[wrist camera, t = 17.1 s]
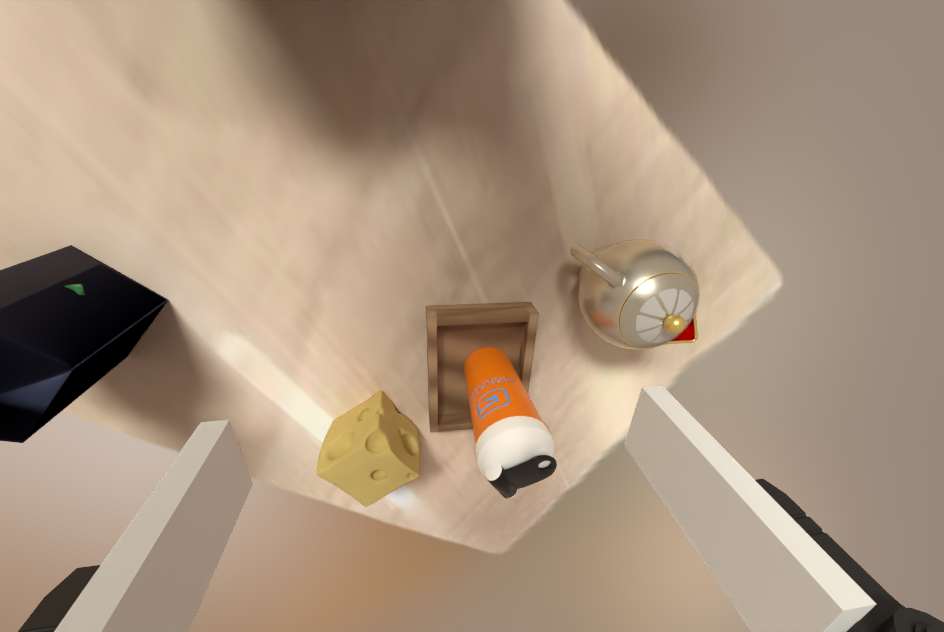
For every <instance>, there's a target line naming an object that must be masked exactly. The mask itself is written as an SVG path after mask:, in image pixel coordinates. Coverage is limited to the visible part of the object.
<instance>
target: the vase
mask: <svg viewBox="0 0 944 632" xmlns="http://www.w3.org/2000/svg"><path fill="white" fill-rule="evenodd" d="M167 301H168V299H166V298H164V297H163V296H161V295H159V294H157V293H155V292H154V291H152V290H150V289H148V288H147V287H145V286H143V285H141V284H139V283H138V282H136V281H134V280H132V279H130V278H129V277H127V276H125V275H123V274H122V273H120V272H118V271H116V270H114V269H113V268H111V267H109V266H107V265H105V264H104V263H102V262H100V261H98V260H96V259H95V258H93V257H91V256H89V255H88V254H86V253H84V252H82V251H80V250H79V249H77V248H75V247H73V246H68V247H65V248H62V249H60V250H57V251H54V252H51V253H48V254H45V255H43V256H40V257H37V258H34V259H31V260H28V261H26V262H23V263H20V264H17V265H14V266H11V267H9V268H6V269H3V270H0V441H10V442H19V443H23V442H24V441H26V440H27V439H28V438H29V437H31V436H32V434H34V433H35V432H37V431H38V430H39V429H40V428H41V427H43V426H44V425H45V424H46V423H48V422H49V421H50V420H51V419H52V418H53V417H55V416H56V415H57V414H58V413H60V412H61V411H62V410H63V409H65V408H66V407H67V406H68V405H69V404H71V403H72V402H73V401H74V400H75V399H77V398H78V397H79V396H80V395H82V394H83V393H84V392H85V391H86V390H88V389H89V388H90V387H91V386H92V385H94V384H95V383H96V382H97V381H99V380H100V379H101V378H102V377H103V376H105V375H106V374H107V373H108V372H109V371H111V370H112V369H113V368H114V367H116V366H117V365H118V364H119V363H120V362H122V361H123V360H124V359H125V358H126V357H127V356H128V355H129V354H130V352H131V351H132V349H133V348H134V347H135V345H136V344H137V343H138V341H139V340H140V338H141V337H142V336H143V334H144V333H145V332H146V330H147V329H148V327H149V326H150V325H151V323H152V322H153V321H154V319H155V318H156V316H157V315H158V314H159V312H160V311H161V310H162V308H163V307H164V305H165V304H166V303H167Z"/></svg>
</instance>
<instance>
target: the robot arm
mask: <svg viewBox="0 0 944 632" xmlns="http://www.w3.org/2000/svg"><path fill="white" fill-rule="evenodd" d="M624 446H625V447H626V449H627V450H628V452H629V453H630V454H631V456H632V457H633V459H634V460H635V462H636V463H637V465H638V466H639V468H640V469H641V471H642V472H643V473H644V475H645V476H646V478H647V479H648V481H649V482H650V484H651V485H652V487H653V488H654V490H655V491H656V493H657V494H658V495H659V497H660V499H661V500H662V501H663V503H664V504H665V506H666V507H667V509H668V510H669V512H670V513H671V515H672V516H673V518H674V519H675V520H676V522H677V523H678V525H679V526H680V528H681V529H682V531H683V532H684V534H685V535H686V536H687V538H688V540H689V541H690V543H691V544H692V545H693V547H694V548H695V550H696V551H697V553H698V554H699V556H700V557H701V559H702V560H703V562H704V563H705V564H706V566H707V568H708V569H709V570H710V572H711V573H712V575H713V576H714V578H715V579H716V581H717V582H718V584H719V585H720V587H721V588H722V590H723V591H724V592H725V594H726V595H727V597H728V598H729V600H730V601H731V602H732V604H733V606H734V607H735V609H736V610H737V612H738V613H739V614H740V616H741V617H742V619H743V620H744V622H745V623H746V625H747V626H748V628H749V629H750V630H751V632H944V622H942V621H940V620H938V619H936V618H935V617H933V616H931V615H929V614H927V613H925V612H921V611H918V610H915V609H912V608H905V607H904V606H902V605H901V604H900V603H899V602H898V601H896V600H895V599H894V598H893V597H892V596H891V595H889V594H888V593H887V592H886V591H885V590H884V589H883V588H882V587H881V586H880V585H879V584H878V583H877V582H876V581H875V580H874V579H873V578H872V577H871V576H870V575H869V574H868V573H867V572H866V571H865V570H864V569H863V568H862V567H861V566H860V565H858V563H857V562H855V561H854V560H853V559H852V558H851V557H850V556H849V555H848V554H847V553H846V552H845V551H844V550H843V549H842V548H841V547H840V546H839V545H838V544H837V543H836V542H835V541H834V540H833V539H832V538H831V537H830V536H829V535H828V534H827V533H823V532H822V529H821V528H820V527H819V526H818V525H817V524H816V523H815V522H814V521H813V520H812V519H811V518H810V517H807V516H806V514H805V512H804V511H803V510H802V509H801V508H800V507H799V506H798V505H797V504H796V503H795V502H794V501H793V500H791V498H789V497H788V496H787V495H786V494H785V493H784V492H782V491H780V490H779V489H778V488H776V487H775V486H773V485H772V484H770V483H769V482H767V481H766V480H764V479H758V480H754V479H753V478H752V477H751V476H750V475H749V474H748V473H747V472H746V471H745V470H744V469H743V468H742V467H741V466H740V465H739V464H738V463H737V462H736V461H735V460H734V458H733V457H732V456H731V455H730V454H728V452H727V451H726V450H725V449H724V448H723V447H722V446H721V445H720V444H719V443H718V442H717V441H716V440H715V439H714V438H713V437H712V436H711V435H710V434H709V433H708V432H707V431H706V430H705V429H704V428H703V427H702V426H701V425H700V424H699V423H698V422H697V421H696V420H695V419H694V418H693V417H692V416H691V415H690V414H689V413H688V412H687V411H686V410H685V409H684V408H683V407H682V406H681V405H680V404H679V403H678V402H677V401H676V399H675V398H673V397H672V396H671V394H670V393H669V392H668V391H667V390H666V389H665V388H664V387H663V386H653V387H642V389H641V392H640V395H639V399H638V402H637V405H636V408H635V412H634V415H633V418H632V421H631V424H630V428H629V431H628V434H627V437H626V440H625V444H624ZM251 486H252V481H251V478H250V475H249V472H248V470H247V467H246V464H245V461H244V458H243V456H242V453H241V450H240V447H239V444H238V442H237V439H236V436H235V433H234V430H233V428H232V425H231V422H230V420H219V421H206V422H200V424H199V425H198V426H197V428H196V429H195V431H194V432H193V434H192V435H191V436H190V438H189V439H188V441H187V442H186V444H185V445H184V447H183V448H182V449H181V451H180V452H179V454H178V455H177V457H176V458H175V459H174V461H173V462H172V464H171V465H170V467H169V468H168V470H167V471H166V472H165V474H164V475H163V477H162V478H161V479H160V481H159V482H158V484H157V485H156V487H155V488H154V489H153V491H152V493H151V494H150V495H149V497H148V498H147V499H146V501H145V502H144V504H143V505H142V507H141V508H140V510H139V511H138V512H137V514H136V515H135V517H134V518H133V519H132V521H131V522H130V524H129V525H128V527H127V528H126V530H125V531H124V532H123V534H122V535H121V537H120V538H119V540H118V541H117V542H116V544H115V545H114V547H113V548H112V550H111V551H110V553H109V554H108V555H107V557H106V558H105V560H104V561H103V562H102V564H101V565H97V566H90V567H82V568H77V569H76V570H74V571H73V572H72V573H71V574H70V575H69V576H68V577H67V578H66V579H64V580H63V581H62V582H61V583H60V584H59V585H58V586H57V587H55V588H54V589H53V590H52V591H51V592H50V593H49V594H48V595H46V596H45V597H44V599H43V600H42V601H41V602H40V604H39V605H38V606H37V608H36V609H35V610H34V612H33V613H32V614H31V615H30V617H29V618H28V619H27V621H26V622H25V623H24V625H23V626H22V627H21V628H20V630H19V631H18V632H189V630H190V627H191V625H192V623H193V620H194V618H195V616H196V613H197V611H198V609H199V606H200V604H201V602H202V599H203V597H204V595H205V593H206V590H207V588H208V586H209V583H210V581H211V579H212V577H213V574H214V572H215V569H216V567H217V565H218V562H219V560H220V558H221V556H222V553H223V551H224V549H225V546H226V544H227V542H228V540H229V537H230V535H231V533H232V530H233V528H234V526H235V523H236V521H237V519H238V516H239V514H240V512H241V509H242V507H243V505H244V503H245V500H246V498H247V496H248V493H249V491H250V489H251Z"/></svg>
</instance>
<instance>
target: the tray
mask: <svg viewBox="0 0 944 632" xmlns="http://www.w3.org/2000/svg"><path fill="white" fill-rule="evenodd" d="M538 314H539V313H538V312H537V310H536V309H535V308H534V306H533V305H532V303H531V302H521V303H494V304H467V305H440V306H426V315H427V355H428V394H429V422H430V432H441V431H452V430H463V429H473V425H472V418H471V412H470V405H469V399H468V392H467V386H466V379H465V373H464V366H465V362H466V360H467V358H468V357H469V356H470V355H471V354H472V353H473V352H475V351H476V350H478V349H481V348H484V347H495V348H498V349H501V350H502V351H504V352H505V353H506V354H507V356H508V358H509V359H510V361H511V363H512V365H513V367H514V369H515V371H516V373H517V375H518V376H519V378H520V380H521V382H522V384H523V386H524V388H525V390H526V392H527V394H528V389H529V381H530V374H531V366H532V359H533V351H534V344H535V336H536V329H537V321H538Z"/></svg>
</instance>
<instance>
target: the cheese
mask: <svg viewBox="0 0 944 632" xmlns="http://www.w3.org/2000/svg"><path fill="white" fill-rule="evenodd" d="M317 475H318V476H319V477H321V478H323V479H324V480H326V481H328V482H330V483H332V484H334V485H335V486H337V487H338V488H340V489H342V490H343V491H344V492H346V493H347V494H349V495H350V496H352V497H353V498H355V499H356V500H357V501H359V502H360V503H361V504H362V505H364V506H365V507H367V506H369V505H371V504H373V503H374V502H376V501H378V500H379V499H381V498H383V497H384V496H386V495H387V494H389V493H391V492H392V491H394V490H396V489H397V488H399V487H401V486H403V485H405V484H407V483H408V482H411V481H413V480H414V479H416V478H418V477H419V476H420V456H419V435H418V428H417V427H416V426H415V425H414V424H413V423H412V422H411V421H410V420H409V419H408V418H407V417H406V416H405V415H404V414H401V413H398V412H397V411H396V409H395V406H394V404H393V403H392V401H391V400H390V399H389V398H388V397H387V396H386V395H385V393H384V392H383V391H380V392H378V393H377V394H375V395H374V396H372V397H371V398H370V399H368V400H367V401H365V402H364V403H362V404H361V405H359V406H357V407H356V408H354V409H352V410H351V411H349V412H347V413H346V414H344V415H342V416H340V417H339V418H337V419H335V420H334V421H333V422H332V424H331V426H330V428H329V430H328V433H327V435H326V437H325V440H324V442H323V445H322V447H321V450H320V454H319V460H318V466H317Z"/></svg>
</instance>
